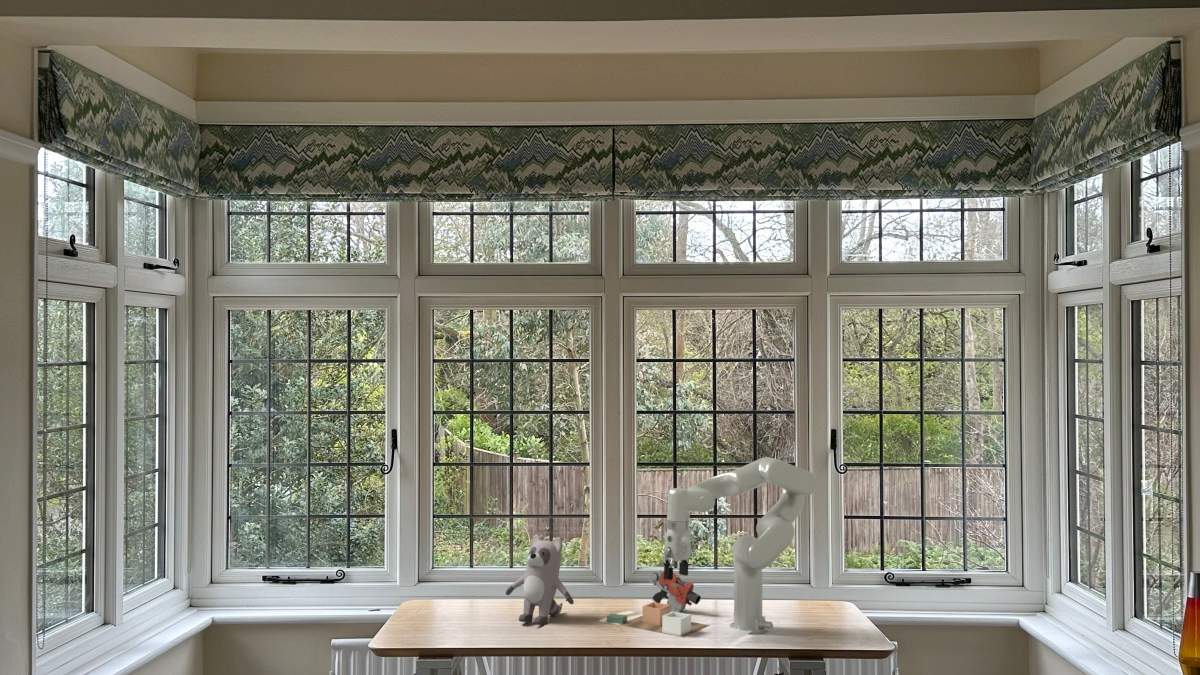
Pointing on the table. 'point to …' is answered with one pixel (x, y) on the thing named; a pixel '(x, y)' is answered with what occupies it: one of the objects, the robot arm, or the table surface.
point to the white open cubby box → (676, 623)
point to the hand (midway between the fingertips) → (675, 577)
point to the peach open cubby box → (654, 613)
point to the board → (636, 622)
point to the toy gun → (674, 591)
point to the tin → (617, 618)
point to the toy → (541, 581)
